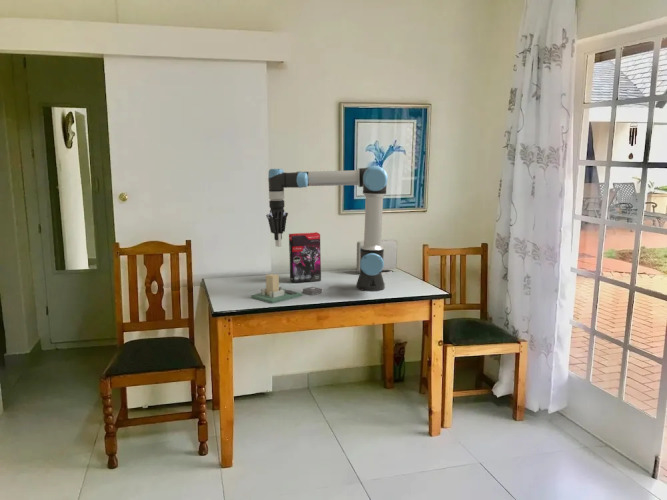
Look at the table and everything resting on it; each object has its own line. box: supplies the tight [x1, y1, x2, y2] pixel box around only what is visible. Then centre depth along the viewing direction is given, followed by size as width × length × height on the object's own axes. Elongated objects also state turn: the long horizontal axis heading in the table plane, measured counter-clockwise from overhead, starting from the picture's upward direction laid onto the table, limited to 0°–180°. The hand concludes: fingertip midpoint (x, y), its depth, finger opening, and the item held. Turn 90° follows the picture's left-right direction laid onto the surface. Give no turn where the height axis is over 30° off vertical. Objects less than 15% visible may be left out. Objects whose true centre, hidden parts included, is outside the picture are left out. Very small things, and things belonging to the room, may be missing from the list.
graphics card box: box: [288, 231, 322, 284], centre depth 300 cm, size 17×7×27 cm, turn 111°
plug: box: [265, 273, 280, 295], centre depth 266 cm, size 6×4×10 cm
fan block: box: [302, 286, 323, 296], centre depth 275 cm, size 7×7×2 cm
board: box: [250, 286, 303, 304], centre depth 267 cm, size 16×20×4 cm
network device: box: [356, 238, 398, 275], centre depth 323 cm, size 26×9×20 cm, turn 114°
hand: (278, 246), depth 271 cm, fingers closed
